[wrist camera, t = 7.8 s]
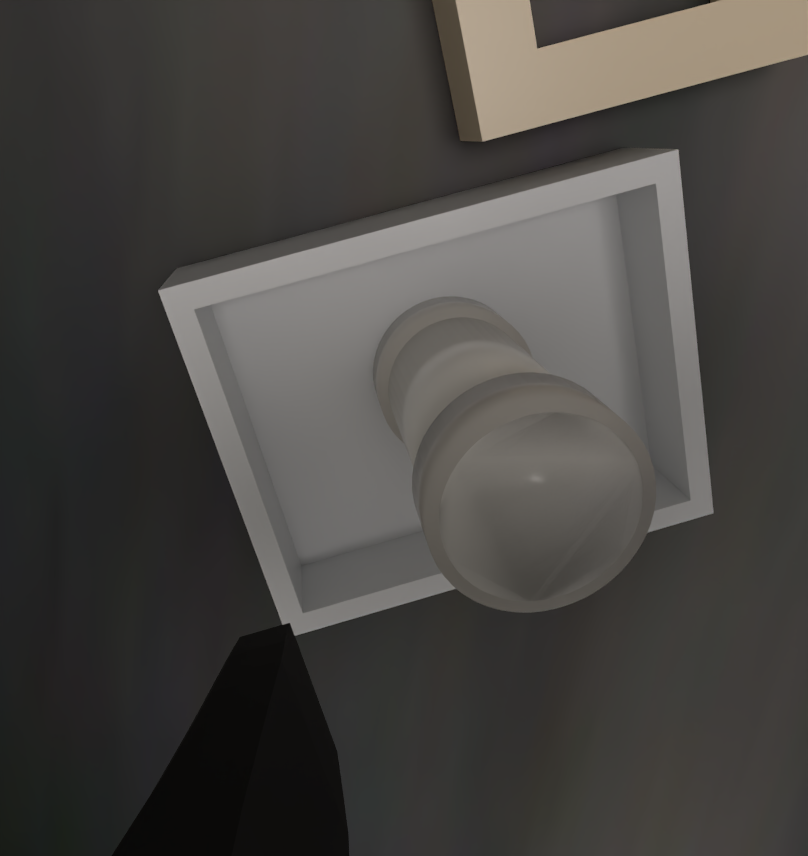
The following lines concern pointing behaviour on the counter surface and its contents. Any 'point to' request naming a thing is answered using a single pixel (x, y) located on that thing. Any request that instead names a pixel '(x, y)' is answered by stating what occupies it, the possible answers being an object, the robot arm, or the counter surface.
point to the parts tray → (381, 305)
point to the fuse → (510, 460)
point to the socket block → (599, 58)
